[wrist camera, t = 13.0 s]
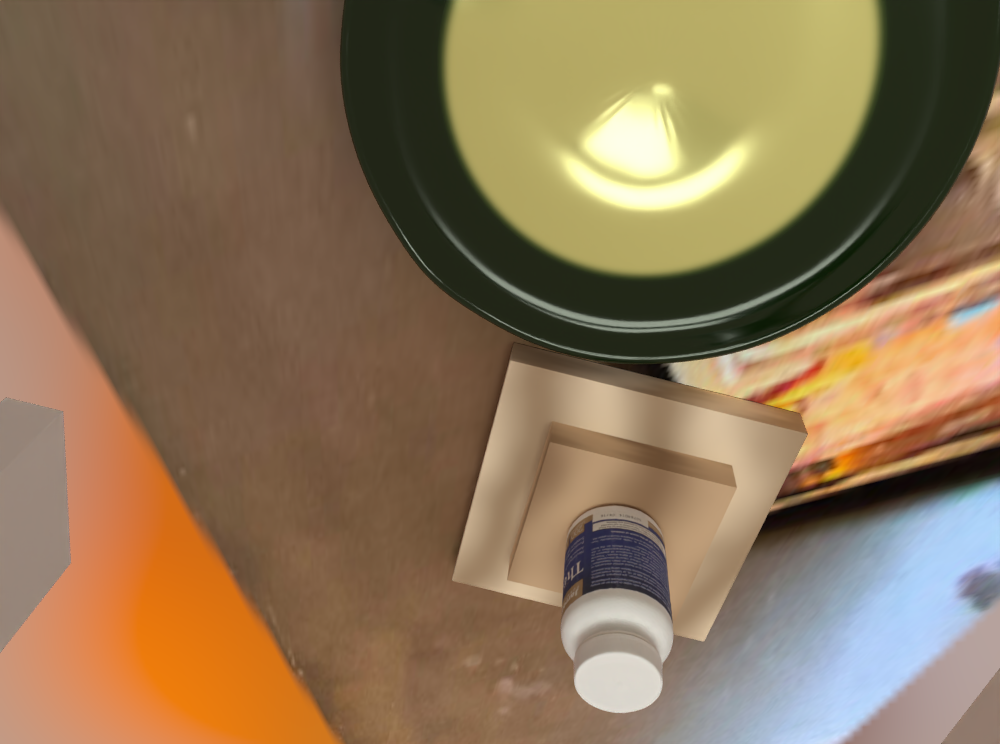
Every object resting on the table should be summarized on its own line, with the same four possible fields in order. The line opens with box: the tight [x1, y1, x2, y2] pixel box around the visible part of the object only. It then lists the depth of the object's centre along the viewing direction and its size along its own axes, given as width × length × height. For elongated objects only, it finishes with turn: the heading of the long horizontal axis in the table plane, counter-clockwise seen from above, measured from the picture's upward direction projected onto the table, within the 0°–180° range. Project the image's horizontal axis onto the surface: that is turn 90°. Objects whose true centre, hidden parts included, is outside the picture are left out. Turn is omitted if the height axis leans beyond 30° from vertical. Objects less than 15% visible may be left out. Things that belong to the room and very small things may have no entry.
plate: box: [340, 0, 1000, 364], centre depth 37 cm, size 28×28×2 cm
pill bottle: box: [561, 505, 673, 713], centre depth 42 cm, size 5×5×10 cm
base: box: [452, 343, 808, 641], centre depth 48 cm, size 16×16×4 cm
